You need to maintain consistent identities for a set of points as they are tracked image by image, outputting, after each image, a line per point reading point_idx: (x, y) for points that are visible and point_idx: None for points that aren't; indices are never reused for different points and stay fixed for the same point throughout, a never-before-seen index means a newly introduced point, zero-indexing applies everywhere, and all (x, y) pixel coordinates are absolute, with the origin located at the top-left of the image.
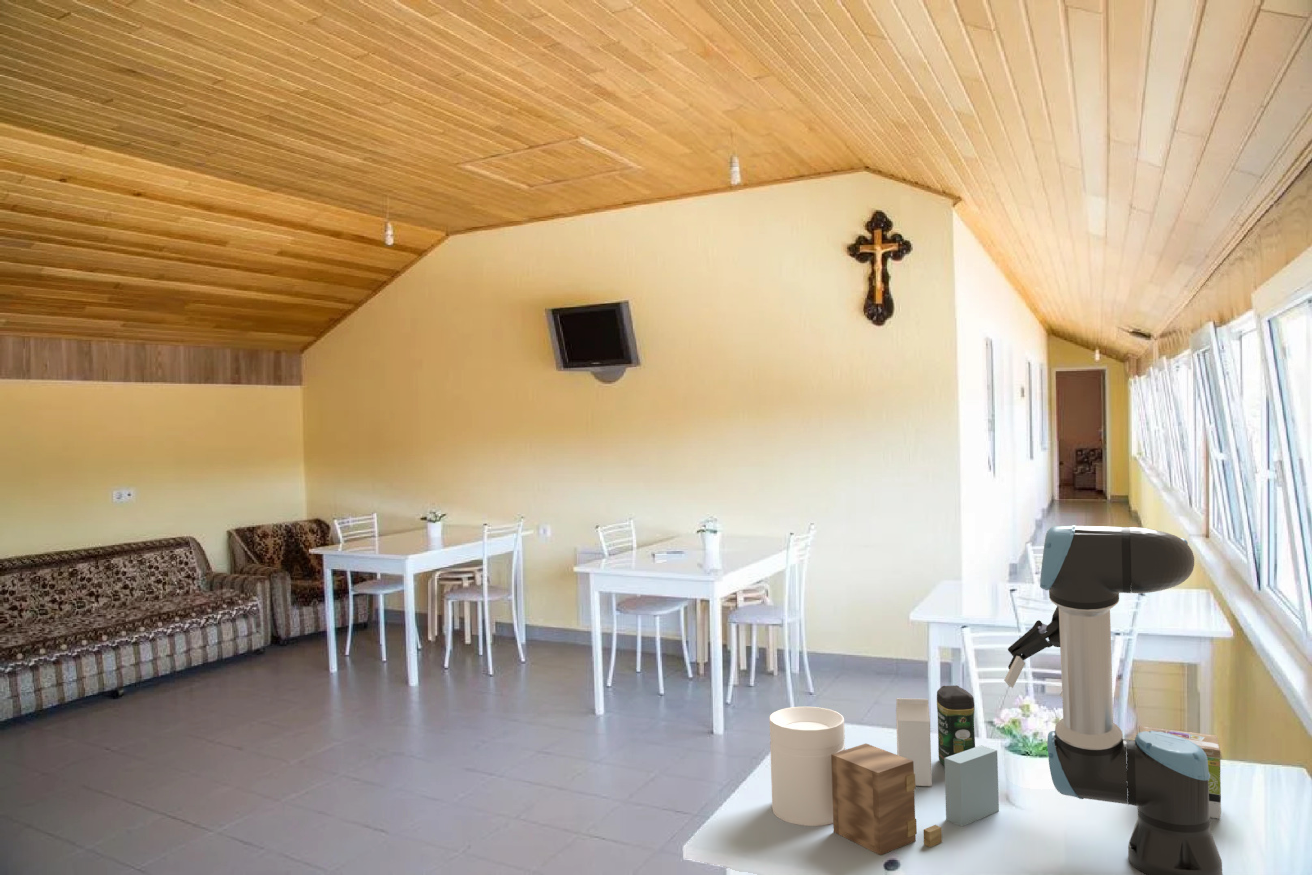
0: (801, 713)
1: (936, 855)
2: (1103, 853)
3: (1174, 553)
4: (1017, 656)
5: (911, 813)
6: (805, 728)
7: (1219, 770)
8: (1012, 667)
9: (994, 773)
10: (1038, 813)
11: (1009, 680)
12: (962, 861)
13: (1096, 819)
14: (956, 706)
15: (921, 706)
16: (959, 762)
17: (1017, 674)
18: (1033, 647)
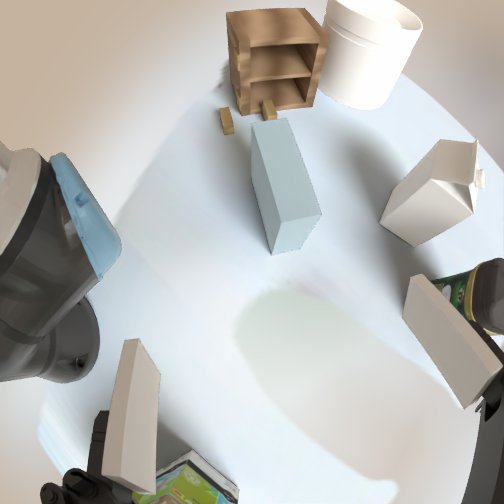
0: (412, 25)
1: (202, 117)
2: (109, 287)
3: None
4: (496, 365)
5: (239, 89)
6: (378, 17)
7: None
8: (456, 320)
9: (274, 227)
10: (238, 304)
11: (414, 294)
12: (178, 131)
13: (184, 366)
14: (479, 275)
15: (463, 174)
16: (256, 124)
17: (433, 349)
18: (492, 469)
